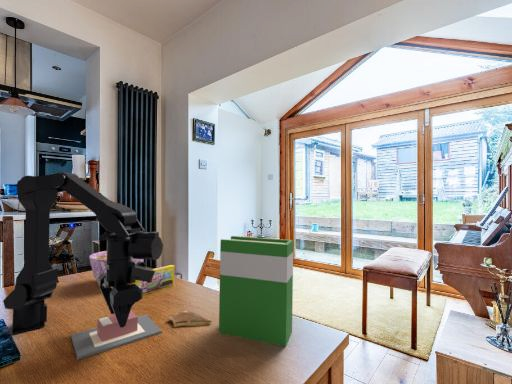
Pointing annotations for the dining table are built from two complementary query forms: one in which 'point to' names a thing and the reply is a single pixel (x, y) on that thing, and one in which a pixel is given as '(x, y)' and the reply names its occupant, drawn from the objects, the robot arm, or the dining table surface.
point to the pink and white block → (115, 327)
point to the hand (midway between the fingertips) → (117, 319)
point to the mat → (92, 344)
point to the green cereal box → (256, 289)
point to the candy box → (158, 280)
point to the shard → (188, 319)
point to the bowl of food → (102, 263)
